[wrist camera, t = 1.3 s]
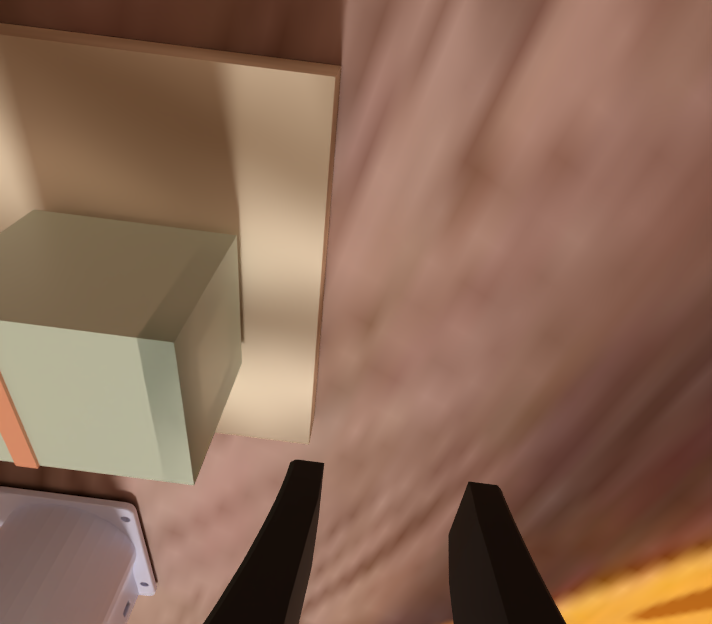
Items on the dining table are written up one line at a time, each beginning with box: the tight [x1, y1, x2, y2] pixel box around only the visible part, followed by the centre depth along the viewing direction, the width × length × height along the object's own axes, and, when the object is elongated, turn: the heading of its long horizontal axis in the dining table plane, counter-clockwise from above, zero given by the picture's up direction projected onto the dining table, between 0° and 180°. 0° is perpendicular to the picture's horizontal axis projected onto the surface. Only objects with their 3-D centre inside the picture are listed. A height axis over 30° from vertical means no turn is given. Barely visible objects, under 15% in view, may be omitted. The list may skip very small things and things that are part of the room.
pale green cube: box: [0, 210, 242, 485], centre depth 14 cm, size 5×6×5 cm
